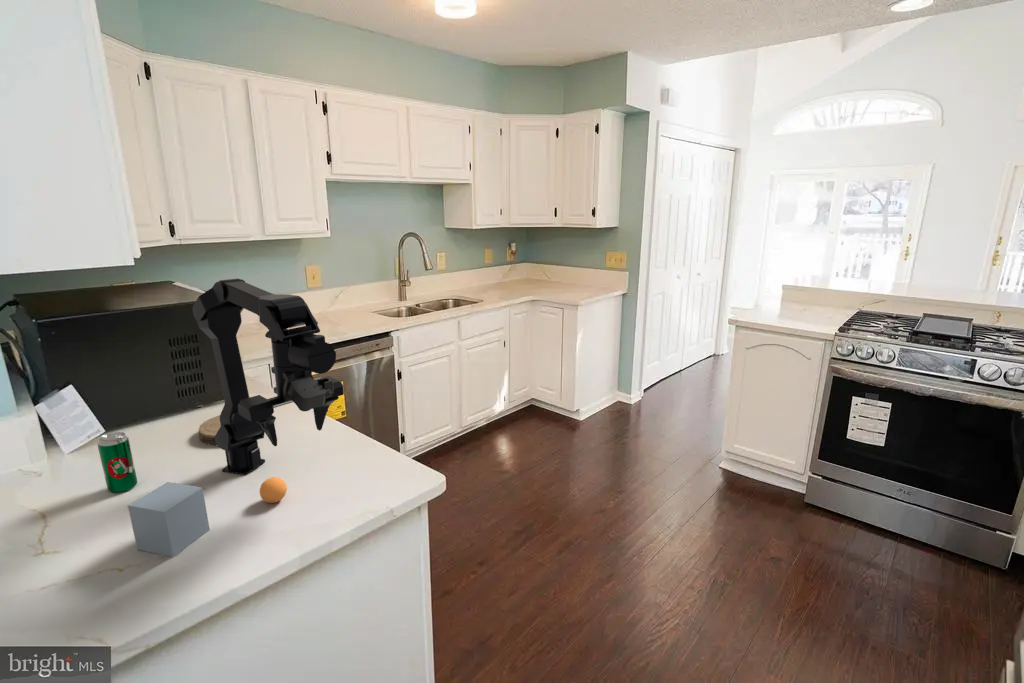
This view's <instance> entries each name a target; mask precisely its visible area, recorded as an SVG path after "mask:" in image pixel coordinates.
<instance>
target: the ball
mask: <svg viewBox="0 0 1024 683" xmlns="http://www.w3.org/2000/svg"><path fill="white" fill-rule="evenodd" d="M287 490H288V485H287V483H286V481H284V479H282V478H280V477H276V476H273V477H270V478H269V477H268V478H267V479H266V480H264V481H263V482H262V483H261V485H260V487H259V496H260V498H261V499H262V500H263V501H264V502H266V503H268V504H269V503H270V504H272V503H273V504H274V503H277V502H280V501H281V500H282V499H284V497H285V496H286V493H287Z"/></svg>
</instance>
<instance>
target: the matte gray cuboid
mask: <svg viewBox="0 0 1024 683" xmlns="http://www.w3.org/2000/svg"><path fill="white" fill-rule="evenodd" d="M127 508H128V513H129V517H130V522H131V526H132V527H131V528H132V532H133V536H134V540H135V545H136V550H137V551H142V552H147V553H150V554H151V553H152V554H157V555H162V556H167V557H170V558H174V557H176V556H177V555H178V554H180V553H181V552H182V551H184V550H186V549H187V548H188V547H189V546H191V545H192V544H193V543H194V542H196V541H197V540H198V539H199V538H201V537H202V536H203V535H205V534H207V533H208V532H209V531H210V530H211V529H210V524H209V517H208V512H207V507H206V499H205V493H204V489H203V487H200V486H193V485H189V484H183V483H182V484H181V483H176V482H171V481H167V482H166V483H164V484H162V485H160V486H158V487H157V488H154V489H153V490H152V491H150V492H148V493H146V494H145V495H143V496H141V497H140V498H138V499H136V500H135V501H133V502H131V503H129V504H128V505H127Z"/></svg>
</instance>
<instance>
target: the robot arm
mask: <svg viewBox="0 0 1024 683" xmlns="http://www.w3.org/2000/svg"><path fill="white" fill-rule="evenodd" d="M243 310H246V311H249V312H251V313H253V314H255V315H257V316H258V318H259V323H261V324H262V325H263V326H265V328H266V329H267V330H268V331H267V332H266V333H265V337H266V339H270V341H271V351H272V352H271V353H272V358H273V359H272V360H273V366H272V367H270V369H271V373H273V374H274V377H275V386H274V387H273V393H274V394H276V396H273V397H270V398H266V397H264V396H262V395H260V394H258V395H254V396H250V393H249V390H248V384H247V380H246V376H245V370H244V365H243V362H242V357H241V352H240V347H239V342H238V338H237V334H238V333H239V330H240V326H241V325H242V322H243V321H242V314H241V313H242V312H243ZM192 315H193V317H194V319H195V320H196V323H197V325H198V328H199V330H201V331H202V332H203V334H205V335H206V337H208V338H209V339H210V342H211V346H212V350H213V356H214V360H215V363H216V368H217V373H218V377H219V382H220V386H221V391H222V395H223V400H224V405H223V407H222V410H221V412H220V414H219V415H220V424H221V427H220V428H219V430H218V432H217V434H216V435H215V437H214V439H215V442H216V445H217V446H216V445H215V446H216V447H217V448H219V449H221V450H223V451H225V453H224V454H225V458H226V463H227V465H226V466H224V467H222V470H221V471H222V472H225V473H230V474H238V475H244V476H246V475H248V474H249V473H251V472H252V471H254V470H255V469H257V468H258V467H260V466H262V465H263V464H264V463H266V459H265V458H262V457H261V450H260V447H259V442H258V440H261V439H264V438H265V435H266V436H267V438H268V441H270V443H271V444H272V446H274V447H277V446H278V436H277V431H276V425H275V423H276V419H277V417H276V416H274V415H273V414H274V412H275V411H274V408H278V407H282V406H285V405H288V404H289V405H290V404H291V403H294V404H295V405H296V407H297V409H298V410H299V411H301V412H309V411H311V410H312V409H313V410H312V411H313V416H314V423H315V426H316V429H317V431H319V432H320V431H322V428H323V426H324V422H325V420H326V417H327V416H326V415H327V413H328V410H329V408H330V406H331V405H332V404H333V403H334V402H335V401H337V400H339V397H340V396H343V395H344V394H345V387H344V383H343V382H341V381H340V380H338V379H335V378H334V377H332V376H324V377H320V378H317V379H314V377H313V373H314V374H319V375H321V374H326V373H328V372H329V371H330V370H331V369H332V368H333V367H334V366H335V363H336V359H337V351H335V348H334V346H333V345H332V344H330V343H329V342H326V338H325V337H326V336H325V335H323V334H320V333H321V329H320V326H319V322H318V321H317V319H316V318H315V316H314V315H313V313H312V312H311V309H310V308H309V306H308V303H307V302H306V301H305V300H304V298H302V296H300V295H294V294H275V293H271V292H270V291H266V290H265V289H262V288H260V287H257V286H255V285H253V284H250V283H247V282H246V281H245V280H244V279H240V278H231V279H230V278H229V279H222V280H221V279H219V280H218V281H216V282H215V283H214V284H213V286H212V287H211V288H210V289H208V290H207V291H205V292H202V294H200V295H199V296H198V297H197V299H196V301H195V302H194V304H192ZM318 333H319V334H318Z"/></svg>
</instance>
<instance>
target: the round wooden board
mask: <svg viewBox="0 0 1024 683" xmlns="http://www.w3.org/2000/svg"><path fill="white" fill-rule="evenodd" d="M220 427H221V424H220V414H219V415H215V416H213V417H210V418H209V419H207V420H205V421H203V422H202V423H201V424H200V425H199V427H198V435H199V440H200V439H201V440H200V441H201V442H202V443H203V442H204V443H203V444H205V443H206V445H208V444H210V445H211V446H216V442H215V439H214V437H215V435H216V434H217V432H218V430H219V428H220ZM210 445H209V446H210Z"/></svg>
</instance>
